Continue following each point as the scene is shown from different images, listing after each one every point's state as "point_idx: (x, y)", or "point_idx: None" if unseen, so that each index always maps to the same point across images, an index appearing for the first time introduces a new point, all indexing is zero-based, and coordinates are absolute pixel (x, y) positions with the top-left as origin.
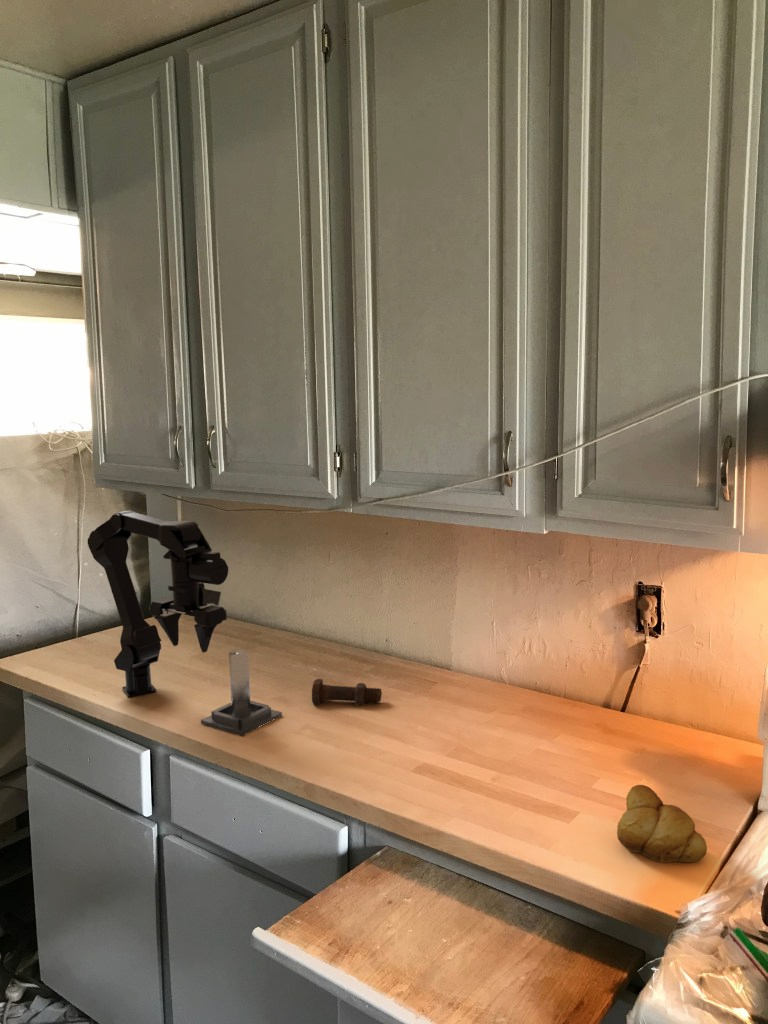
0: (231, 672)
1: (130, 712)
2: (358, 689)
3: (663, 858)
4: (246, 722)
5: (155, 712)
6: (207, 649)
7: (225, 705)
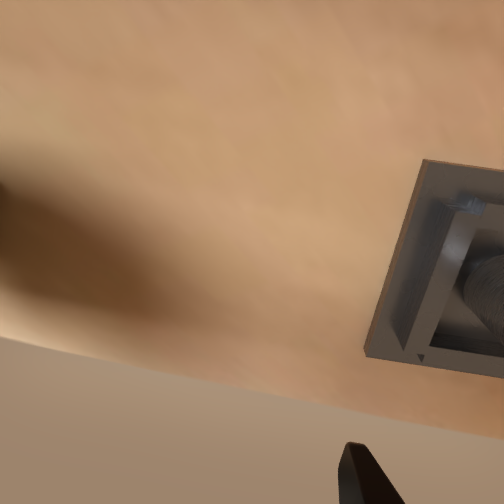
0: None
1: (90, 349)
2: None
3: None
4: None
5: (159, 326)
6: (375, 461)
7: (430, 291)
